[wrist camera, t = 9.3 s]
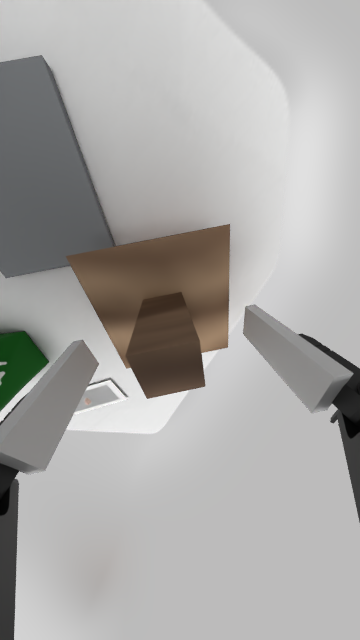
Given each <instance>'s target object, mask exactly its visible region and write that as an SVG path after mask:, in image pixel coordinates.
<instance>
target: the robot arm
mask: <svg viewBox="0 0 360 640" xmlns="http://www.w3.org/2000/svg"><path fill="white" fill-rule="evenodd" d="M243 334H244V335H245V337H246V338H247V339H248V340H249V341H250V342H251V344H252V345H253V346H254V347H255V348H256V349H257V350H258V352H259V353H260V354H261V355H262V356H263V357H264V359H265V360H266V361H267V362H268V363H269V364H270V365H271V366H272V368H273V369H274V370H275V371H276V372H277V374H278V375H279V376H280V377H281V378H282V379H283V381H284V382H285V383H286V384H287V385H288V386H289V387H290V389H291V390H292V391H293V392H294V393H295V394H296V396H297V397H298V398H299V399H300V400H301V401H302V403H303V404H304V405H305V406H306V407H307V408H308V409H309V411H310V412H311V413H315V412H320V411H325V410H327V409H328V408H329V406H330V405H331V404H334V405H335V406H336V407H337V408H338V410H337V411H336V412H335V413H334V415H333V416H332V417H331V421H330V422H331V423H334V422H335V421H336V420H337V419H338V423H339V427H340V432H341V437H342V441H343V446H344V451H345V456H346V460H347V465H348V470H349V474H350V479H351V484H352V488H353V493H354V498H355V502H356V507H357V512H358V517H359V521H360V369H359V368H358V367H357V366H355V365H353V364H352V363H350V362H349V361H347V360H346V359H344V358H343V357H341V356H340V355H338V354H337V353H335V352H333V351H331V350H330V349H329V348H327V347H326V346H323V345H322V344H321V343H320V342H318V341H317V340H315V339H313V338H311V337H309V336H306V335H304V334H296V333H295V332H293V331H292V330H290V329H289V328H288V327H286V326H285V325H283V324H282V323H280V322H279V321H278V320H276V319H275V318H273V317H272V316H270V315H269V314H267V313H266V312H265V311H263V310H262V309H260V308H259V307H257V306H256V305H250V306H246V307H245V318H244V329H243ZM98 365H99V363H98V362H97V360H96V359H95V357H94V356H93V354H92V353H91V351H90V350H89V348H88V347H87V345H86V344H85V342H84V341H83V340H79V341H74V342H72V343H71V345H70V346H69V347H68V348H67V349H66V350H65V352H64V353H63V354H62V355H61V356H60V357H59V358H58V360H57V361H56V362H55V363H54V364H53V365H52V367H51V368H50V369H49V370H48V371H47V372H46V373H45V375H44V376H43V377H42V378H41V379H40V380H39V381H38V383H37V384H36V385H35V386H34V387H33V388H32V390H31V391H30V392H29V393H28V394H27V395H25V396H24V397H23V398H22V399H21V400H20V401H19V402H18V403H17V404H16V405H15V406H14V408H13V409H12V411H11V412H9V413H8V414H7V415H6V417H5V418H4V420H3V421H1V422H0V640H14V620H15V587H16V555H17V554H16V553H17V522H18V521H17V520H18V490H19V483H18V480H17V479H14V478H15V477H16V475H17V473H18V472H19V471H20V472H23V473H26V474H34V473H39V472H43V471H45V469H46V468H47V465H48V464H49V462H50V460H51V458H52V456H53V454H54V452H55V450H56V448H57V446H58V444H59V442H60V440H61V438H62V436H63V434H64V432H65V430H66V428H67V426H68V424H69V422H70V420H71V418H72V416H73V414H74V412H75V410H76V408H77V406H78V404H79V402H80V400H81V398H82V396H83V394H84V392H85V390H86V388H87V386H88V384H89V382H90V380H91V379H92V377H93V375H94V373H95V371H96V369H97V367H98Z"/></svg>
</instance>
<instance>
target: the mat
mask: <svg viewBox="0 0 360 640" xmlns="http://www.w3.org/2000/svg"><path fill="white" fill-rule="evenodd" d="M110 247H115V245H114V242H113V240H112V237H111V234H110V231H109V228H108V226H107V223H106V220H105V217H104V215H103V212H102V209H101V206H100V204H99V201H98V198H97V195H96V193H95V190H94V187H93V184H92V182H91V179H90V176H89V173H88V171H87V168H86V165H85V162H84V160H83V157H82V154H81V151H80V148H79V146H78V143H77V140H76V137H75V135H74V132H73V129H72V126H71V124H70V121H69V118H68V115H67V113H66V110H65V107H64V104H63V102H62V99H61V96H60V93H59V91H58V88H57V85H56V82H55V79H54V77H53V74H52V71H51V69H50V67H49V66H48V64H47V63H46V61H45V60H44V58H43V57H42V55H40V56H34V57H29V58H23V59H17V60H11V61H6V62H0V271H1V273H2V274H3V275H4V276H5V278H9V277H14V276H19V275H24V274H29V273H34V272H39V271H44V270H49V269H54V268H60V267H65V266H70V263H69V262H68V260H67V258H66V256H69V255H74V254H79V253H84V252H89V251H95V250H100V249H105V248H110Z"/></svg>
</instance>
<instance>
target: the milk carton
mask: <svg viewBox="0 0 360 640" xmlns="http://www.w3.org/2000/svg"><path fill="white" fill-rule="evenodd" d="M48 363H49V361H48V360H47V359H46V358H45V356H44V355H43V354H42V353H41V351H40V350H39V349H38V347H37V346H36V345H35V344H34V342H33V341H32V340H31V339H30V337H29V336H28V335H27V333H26V332H25V331H22V332H13V333H5V334H0V411H1V410H2V409H3V408H4V407H5V406H6V405H7V404H8V403H9V402H10V401H11V399H12V398H13V397H14V396H15V395H16V394H17V393H18V392H19V391H20V390H21V389H22V388H23V387H24V386H25V385H26V384H27V383H28V382H29V381H30V380H31V379H32V378H33V377H34V376H35V375H36V374H37V373H38V372H40V371H41V370H42V369H43V368H44V367H45V366H46V365H47V364H48Z"/></svg>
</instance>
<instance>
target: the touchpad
mask: <svg viewBox="0 0 360 640" xmlns="http://www.w3.org/2000/svg"><path fill="white" fill-rule="evenodd" d="M125 400H128V399H127V398H126V397H125V396H124V395H123V394H122V392H121V391H120V390H119V389H118V388H117V387H116V386H115V385H114V383H113V382H112V381H111V380H108V381H105V382H101V383H98V384H95V385H91V386H88V387H87V388H86V390H85V392H84V394H83V396H82V398H81V400H80V402H79V404H78V406H77V408H76V410H75V412H74V414H73V415H76V414H80V413H83V412H87V411H90V410H94V409H97V408H100V407H104V406H107V405H111V404H114V403H118V402H121V401H125Z"/></svg>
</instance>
